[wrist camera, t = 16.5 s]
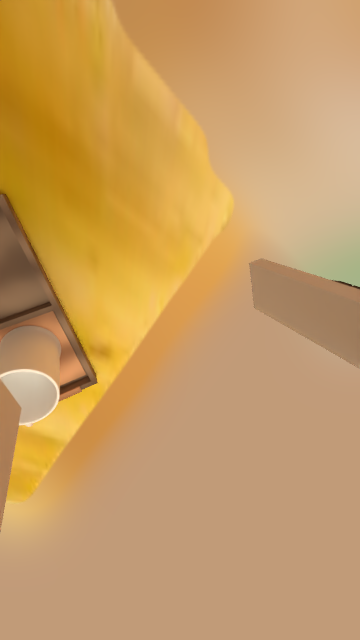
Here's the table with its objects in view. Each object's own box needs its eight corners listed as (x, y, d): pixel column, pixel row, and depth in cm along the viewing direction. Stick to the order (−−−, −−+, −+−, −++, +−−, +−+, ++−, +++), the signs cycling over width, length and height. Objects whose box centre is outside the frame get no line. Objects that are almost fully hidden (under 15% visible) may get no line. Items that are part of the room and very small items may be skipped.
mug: (58, 389, 47) (58, 442, 37) (-1, 392, 43) (-19, 452, 33) (62, 326, 43) (63, 366, 33) (-2, 323, 39) (-23, 368, 29)
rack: (-118, 225, 32) (-133, 228, 29) (5, 194, 35) (1, 194, 32) (17, 408, 46) (15, 420, 44) (95, 374, 50) (97, 384, 47)
